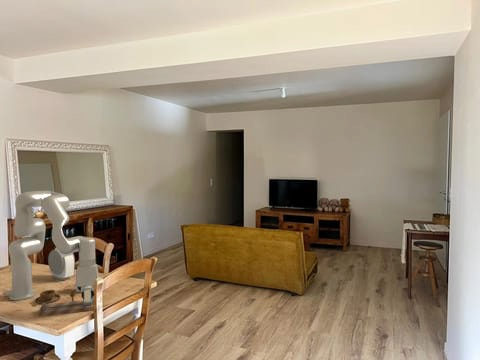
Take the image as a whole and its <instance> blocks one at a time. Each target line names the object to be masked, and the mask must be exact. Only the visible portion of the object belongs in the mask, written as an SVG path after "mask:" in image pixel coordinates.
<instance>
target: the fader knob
mask: <svg viewBox="0 0 480 360" xmlns="http://www.w3.org/2000/svg"><path fill="white" fill-rule="evenodd" d="M91 289H92V288H91V287H85V289H84V302H83V306H85V305H92V301H93V299H94V297H93V298H92V299H91Z"/></svg>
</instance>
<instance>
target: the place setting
mask: <svg viewBox="0 0 480 360" xmlns="http://www.w3.org/2000/svg"><path fill="white" fill-rule="evenodd" d="M55 297H56V299H54V298H55ZM74 297H76V290H71V291H70V292H69V297H67V299H68V298H71V302H73V301H74V300H75V299H74ZM53 299H54V300H53ZM60 299H61V295H60V294H57V293H56V291H55V290H53V289H49V290H48V289H47V290H42V291H41V292H40V293H39V296H38V297H36V298H35V299H34V302H35V303H34V304H33V303H31V307H37V305H42V304H43V303H45V305H46V304H54V303H56V302H58V301H59V300H60ZM40 300H41V301H42V302H41V301H40Z"/></svg>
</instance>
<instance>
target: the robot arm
mask: <svg viewBox="0 0 480 360" xmlns="http://www.w3.org/2000/svg"><path fill="white" fill-rule="evenodd" d="M70 203H71V202H70V199H69V197H68V196H67V195H65V194H63V193H60V192H56V191H52V190H35V191H25V192H22V193H20V194H18V195H17V197H16V198H15V202H14V206H15V218H14V225H13V226H14V227H13V234H14V236H15V237H16V238H19V239H16V240H14V241H12V242H11V243H10V244H9V245H8V254H9V258H10V267H11V271H10V273H11V289H8V290H7V289H6V290H5V289H4V290H3V291H2V294H3V295H4V296H7V295H9V296H8V300H10V301H23V300H28V299H30V298H33V297H35V296H36V294H37V293H36V291H35V290H33V266H32V265H33V263H32V261H31V259H30V258H29V257H28V256H30V255H34V254H38V253H40V252H41V251H42V250H43V248H44V245H45V237H46V229H47V228H46V227H47V226H46V223H45V221H44V220H43V219H42V218H41V217H40V218H39V217H34V216H35V212H34V209H33V208H38V207H39V208H40V207H41V209H43V211H44V213H45V214H46V216H47V218H48V219H49V221H50V224H51V225H52V229H51V239H52V242H53V244H54V245H55V248H57V249H58V250H59V252H61V253H62V254H70V253H73V254H74V253H77V252H78V260H77V261H75V265H78V266H77V267H76V268H77V269H76V270H77V275H76V274H75V282H74V284H73V288H75V289H76V288H77V289H79V290H80V291H81V292H80V293H81V298H82V300H84V286H91V288H92V289H91V299H92V298H93V299H94V297H95V290H94V282H95V279H97V278H99V279H100V276H99V268H98V264H97V263H96V240H95V238H93V237H85V236H82V235H78V236H74V237H68V238H66V237H65V235H64V232H63V226H65V225H66V224H67V223H69V221H70V216H69V214H68V213H67V211H66V210H67V209H68V208H69V207H70V206H71V205H70ZM20 238H21V239H20Z"/></svg>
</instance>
